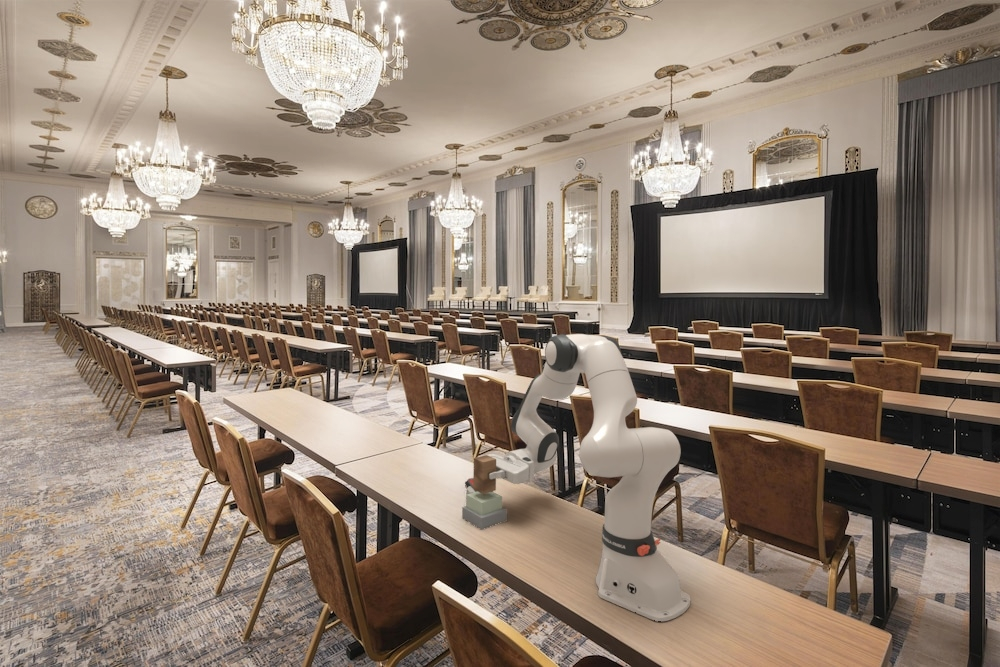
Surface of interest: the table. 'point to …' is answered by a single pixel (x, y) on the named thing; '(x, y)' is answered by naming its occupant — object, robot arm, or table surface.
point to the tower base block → (484, 517)
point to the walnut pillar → (484, 474)
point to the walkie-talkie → (470, 486)
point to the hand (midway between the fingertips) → (482, 473)
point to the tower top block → (483, 502)
